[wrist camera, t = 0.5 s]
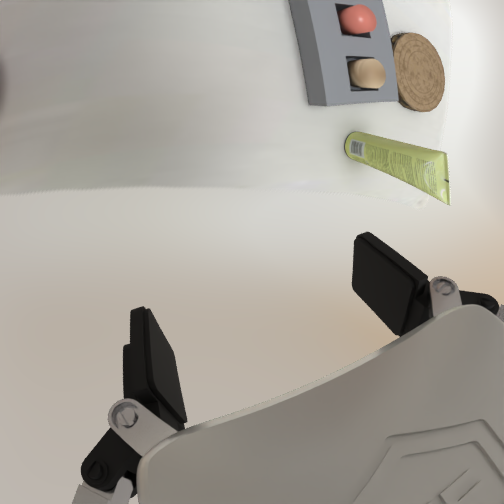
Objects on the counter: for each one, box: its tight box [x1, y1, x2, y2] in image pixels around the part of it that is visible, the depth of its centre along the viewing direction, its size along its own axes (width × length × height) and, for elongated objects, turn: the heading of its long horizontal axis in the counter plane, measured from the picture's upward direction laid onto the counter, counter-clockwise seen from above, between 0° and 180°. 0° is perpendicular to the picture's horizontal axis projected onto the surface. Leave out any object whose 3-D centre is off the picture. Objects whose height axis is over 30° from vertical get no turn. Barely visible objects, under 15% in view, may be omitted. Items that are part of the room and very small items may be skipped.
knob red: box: [337, 4, 377, 36], centre depth 27 cm, size 4×4×4 cm
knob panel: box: [289, 0, 399, 106], centre depth 29 cm, size 26×14×5 cm, turn 11°
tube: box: [345, 132, 451, 205], centre depth 35 cm, size 6×5×20 cm
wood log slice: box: [391, 33, 445, 112], centre depth 37 cm, size 16×16×3 cm
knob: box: [347, 59, 386, 88], centre depth 32 cm, size 4×4×4 cm
